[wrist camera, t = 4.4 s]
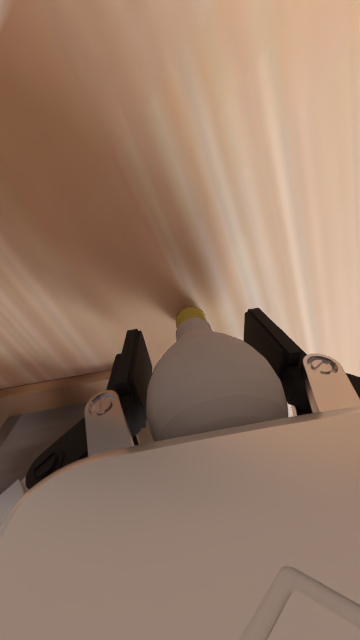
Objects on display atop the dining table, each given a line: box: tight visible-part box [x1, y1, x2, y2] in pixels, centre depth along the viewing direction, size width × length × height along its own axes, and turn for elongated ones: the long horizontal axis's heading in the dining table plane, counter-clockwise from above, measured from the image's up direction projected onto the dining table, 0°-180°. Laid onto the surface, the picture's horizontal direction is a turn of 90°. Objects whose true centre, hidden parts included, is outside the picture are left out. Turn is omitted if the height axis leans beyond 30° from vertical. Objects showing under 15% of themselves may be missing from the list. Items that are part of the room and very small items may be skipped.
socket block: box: [0, 370, 154, 495], centre depth 17 cm, size 14×14×7 cm
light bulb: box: [146, 307, 288, 442], centre depth 10 cm, size 6×6×10 cm
